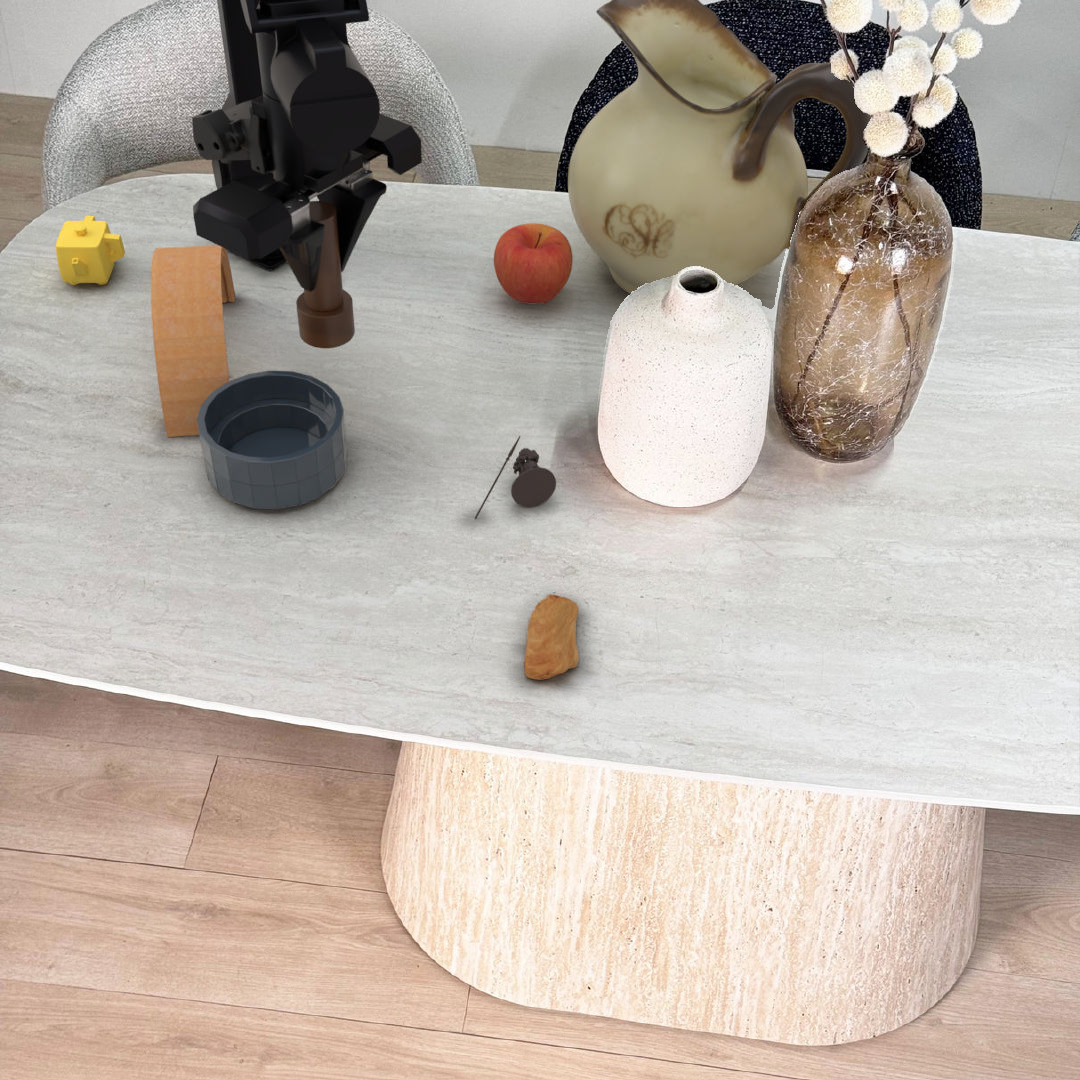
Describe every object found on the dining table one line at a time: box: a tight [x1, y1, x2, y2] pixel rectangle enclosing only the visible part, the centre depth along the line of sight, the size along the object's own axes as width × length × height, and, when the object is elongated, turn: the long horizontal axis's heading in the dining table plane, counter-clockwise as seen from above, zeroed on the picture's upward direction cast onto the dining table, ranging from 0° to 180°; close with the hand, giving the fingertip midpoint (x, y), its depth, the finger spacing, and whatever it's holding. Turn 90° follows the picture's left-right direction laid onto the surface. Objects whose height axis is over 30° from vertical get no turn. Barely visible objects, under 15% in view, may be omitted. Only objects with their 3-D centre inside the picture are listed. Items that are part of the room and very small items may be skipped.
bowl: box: [197, 370, 349, 510], centre depth 101 cm, size 11×11×6 cm
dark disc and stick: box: [474, 435, 557, 520], centre depth 101 cm, size 5×8×4 cm
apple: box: [493, 222, 574, 305], centre depth 118 cm, size 7×7×8 cm
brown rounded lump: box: [523, 593, 580, 681], centre depth 90 cm, size 8×2×5 cm
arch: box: [150, 244, 236, 438], centre depth 109 cm, size 6×20×10 cm, turn 9°
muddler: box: [295, 200, 356, 349], centre depth 98 cm, size 4×4×11 cm
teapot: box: [55, 215, 126, 286], centre depth 119 cm, size 8×6×5 cm
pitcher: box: [567, 0, 871, 295], centre depth 117 cm, size 22×24×25 cm
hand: (322, 279), depth 99 cm, fingers closed on muddler, 3 cm apart
